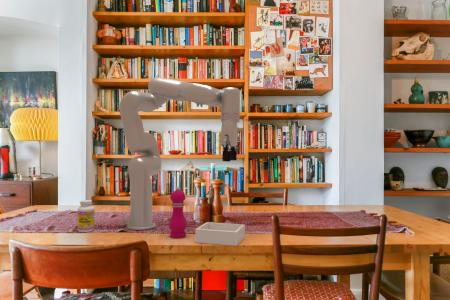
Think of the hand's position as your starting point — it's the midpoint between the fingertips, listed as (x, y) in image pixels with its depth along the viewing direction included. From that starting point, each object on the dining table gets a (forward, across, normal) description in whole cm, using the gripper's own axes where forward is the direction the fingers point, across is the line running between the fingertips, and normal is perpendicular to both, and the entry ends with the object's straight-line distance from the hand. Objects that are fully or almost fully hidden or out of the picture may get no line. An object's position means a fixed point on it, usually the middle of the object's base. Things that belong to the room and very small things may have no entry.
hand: (229, 160), depth 147 cm
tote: (+30, +8, -1) cm, 31 cm away
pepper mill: (+31, +8, -19) cm, 37 cm away
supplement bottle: (+31, +11, -60) cm, 68 cm away
